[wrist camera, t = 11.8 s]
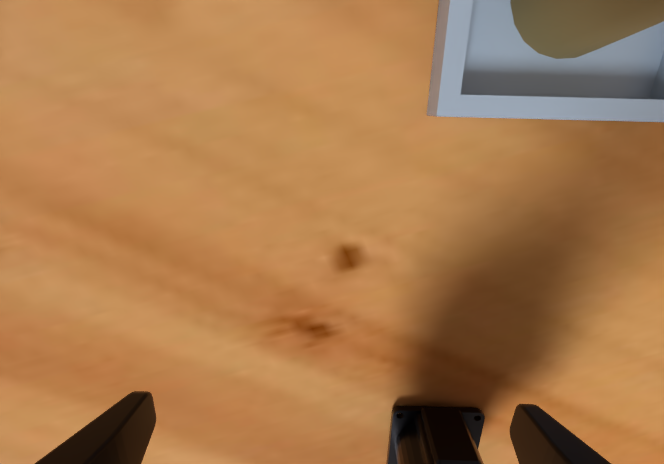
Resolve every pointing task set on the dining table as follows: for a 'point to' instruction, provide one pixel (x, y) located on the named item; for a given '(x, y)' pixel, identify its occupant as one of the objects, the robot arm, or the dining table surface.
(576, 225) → the dining table surface
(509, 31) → the tray
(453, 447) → the robot arm
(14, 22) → the dining table surface
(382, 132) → the dining table surface
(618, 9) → the olive knobbed post
